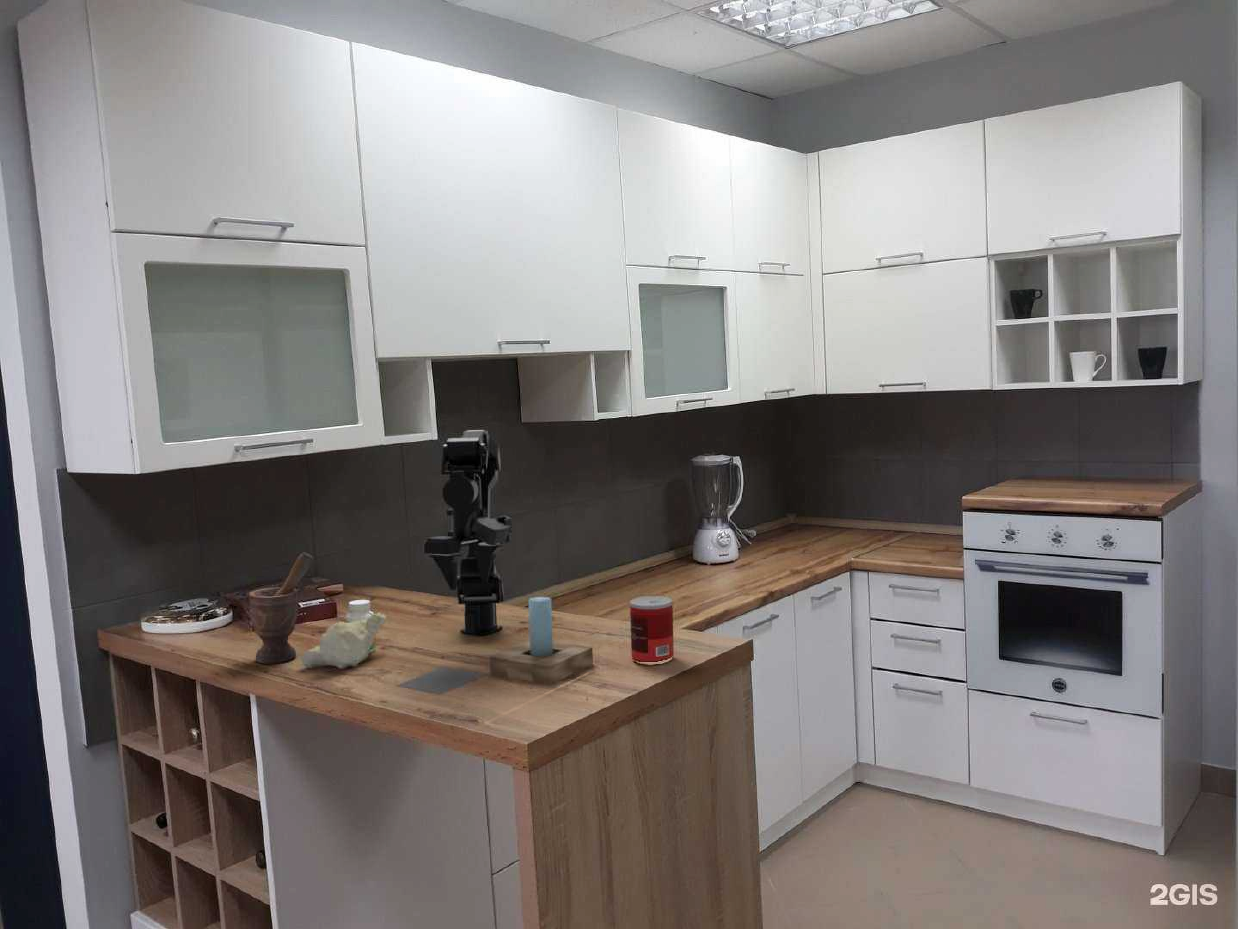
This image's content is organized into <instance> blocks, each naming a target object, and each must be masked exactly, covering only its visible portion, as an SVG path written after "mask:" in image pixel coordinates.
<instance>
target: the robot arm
mask: <svg viewBox="0 0 1238 929" xmlns="http://www.w3.org/2000/svg"><path fill="white" fill-rule="evenodd" d="M462 433H463V434H462V436H461V437H450V438H447V439H446V443H445V444H443V447H442V455H441V456H442V458H441V470H440V471H441V473H440V474H441V476H449V479H448V481H447V482H446V483H445V484H444V485H443V489H442V498H443V501H444V503H446V505H447V506H449V507H450V509H446V516H449V517H450V516H451V530H450V531H447V536H446V535H445V536H444V535H443V536H442V535H437V536H431V537H428V538H427V537H426V539H425V540H424V542H423V554H428V557H429V558H432V559H433V560H434V562H435V564H436V566H437V567H438V569H439V571H440V572H441V574H442V577H443V578H444V580H445V581H446V583H447V585H448V587H449V589H450V590H451V591H456V590H457V601H458V605H459V606H460V605H464V628H462V629H460V630H459V632H460V633H463V634H470V635H475V636H476V635H478V636H486V635H489V634H492V633H494V632H498V631H500V630H503V628H504V627H503V625H498V622H497V620H498V618H497V604H500V603H502V602H504V601H505V597H504V596H505V595H504V593H505V592H504V584H503V580H502V579H501V576H500V574H499V573H497V568H496V565H495V563H494V562H495V558H496V555H497V554H498V552H500V551H501V550H502V549H504V548H505V546H506V544H507V543H510V535H511V534H513V530H512V528H513V524H512V517H509V516H508V515H501V516H499V517H497V518H491V517H490V516H491V515H490V514H491V508H490V507H491V491H492V489H494V487H495V485H496V483H497V482H498V479H499V478H498V476H499V475H498V474H499V472H501V469H502V467H501V466H502V465H501V464H502V463H501V462H502V460H501V459H502V458H501V453H500V449H499V448H500V446H499V444H497V443H496V442H495V441H494V440H492V439H491V438H490V436H489V432H488V430H485V429H467V430H465V431H463V432H462ZM466 546H468V553H467V554H466V556H465V557H464V558H462V559H461V557H462V556H463V554H462V553H460V551H461V550H462V547H466ZM460 559H461V561H460V566H459V567H460V568H459V569H460V570H459V574H458V562H459V560H460Z"/></svg>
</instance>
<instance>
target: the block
mask: <svg viewBox="0 0 1238 929" xmlns="http://www.w3.org/2000/svg"><path fill="white" fill-rule="evenodd" d="M593 655H594V653H593V647H591V646H587V645H586V646H585V645H577V644H572V643H565V642H564V643H563V642H558V641H553V655H551V656H548V657H546V658H543V657H536V656H530V640H528V641H525V642H523V643H520V644H518V645H516V646H513V647H510V648H508V649H506V650H503V651H501V652H498V653H495V654H493V655H491V656H490V657H489V666H490V667H489V670H490V672H489V673H490V675H491V676H492V675H493V676H498V677H504V678H509V679H515V680H521V681H527V682H532V683H538V684H544V685H550V686H551V685H553V684H555V683H558V682H560V681H562V680H564V679H565V678H568V677H570V676H572V675H574V674H576V673H578V672H580V671H583V670H585V669H587V668H588V667H591V666H593V665H594V658H593V657H594V656H593Z"/></svg>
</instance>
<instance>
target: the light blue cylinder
mask: <svg viewBox="0 0 1238 929" xmlns="http://www.w3.org/2000/svg"><path fill="white" fill-rule="evenodd" d="M552 615H553V614H552V598H551V597H548V596H537V597H531V598H529V599H528V624H529V625H528V626H529V641H530V656H536V657H543V658H546V657H548V656H551V655H553V642H554V641H553V640H554V639H553V616H552Z"/></svg>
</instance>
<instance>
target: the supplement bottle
mask: <svg viewBox="0 0 1238 929" xmlns="http://www.w3.org/2000/svg"><path fill="white" fill-rule="evenodd" d="M370 609H371V601H370V600H367V599H356V600H352V601H350V602H348V610H349V613H347V614H346V616H345V623H349V622H355V621H359V620H362V619H367V618H368V617H370V616H371V614H368V613H369V612H370V613H372V614H375V613H374V612H373V611H371V610H370ZM376 636H377V635H376ZM376 636H375V638H374V640H373V643H372V645H371V647H370V652H369V654H371V653H373V652H374V651H376V649H377V638H376Z"/></svg>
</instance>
